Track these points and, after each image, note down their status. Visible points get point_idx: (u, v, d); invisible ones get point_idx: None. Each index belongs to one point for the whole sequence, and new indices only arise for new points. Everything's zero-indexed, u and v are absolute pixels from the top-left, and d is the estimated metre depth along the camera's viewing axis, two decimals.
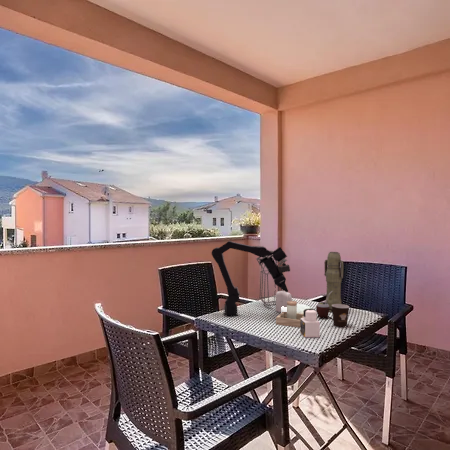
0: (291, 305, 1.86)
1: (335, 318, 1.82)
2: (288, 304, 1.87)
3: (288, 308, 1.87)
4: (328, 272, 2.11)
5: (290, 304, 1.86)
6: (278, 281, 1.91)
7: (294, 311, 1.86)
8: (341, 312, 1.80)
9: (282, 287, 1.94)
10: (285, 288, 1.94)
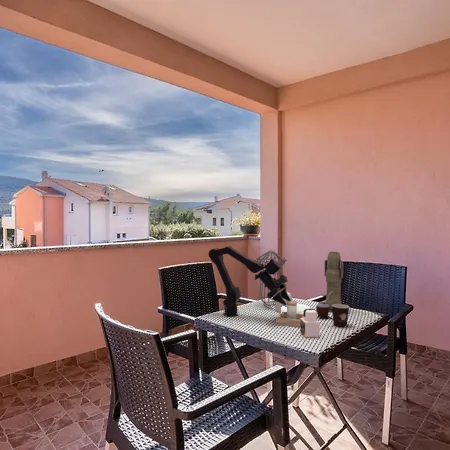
0: (291, 305, 1.86)
1: (335, 318, 1.82)
2: (288, 304, 1.87)
3: (288, 308, 1.87)
4: (328, 272, 2.11)
5: (290, 304, 1.86)
6: (271, 295, 1.83)
7: (294, 311, 1.86)
8: (341, 312, 1.80)
9: (279, 301, 1.85)
10: (282, 301, 1.85)
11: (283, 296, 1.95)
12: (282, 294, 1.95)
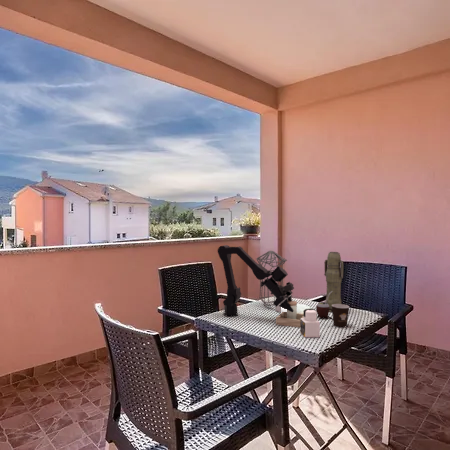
0: (291, 305, 1.86)
1: (335, 318, 1.82)
2: None
3: None
4: (328, 272, 2.11)
5: (290, 304, 1.86)
6: (277, 303, 1.82)
7: (294, 311, 1.86)
8: (341, 312, 1.80)
9: (286, 307, 1.85)
10: (289, 308, 1.85)
11: None
12: None
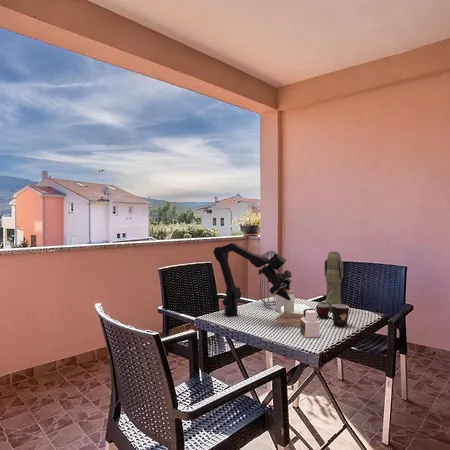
0: (288, 293, 1.82)
1: (335, 318, 1.82)
2: None
3: None
4: (328, 272, 2.11)
5: (287, 292, 1.82)
6: (273, 290, 1.79)
7: (291, 299, 1.82)
8: (341, 312, 1.80)
9: (282, 295, 1.82)
10: (286, 296, 1.82)
11: None
12: None
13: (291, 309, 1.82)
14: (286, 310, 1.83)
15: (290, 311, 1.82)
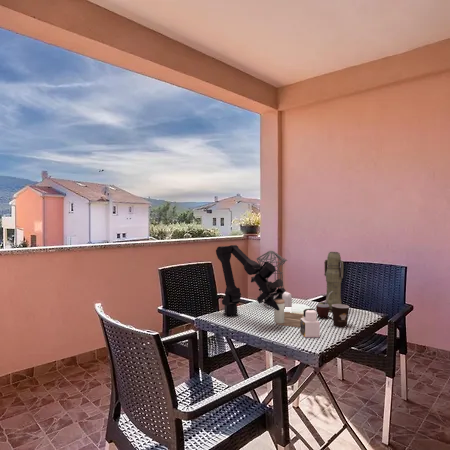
0: (277, 303, 1.76)
1: (335, 318, 1.82)
2: None
3: None
4: (328, 272, 2.11)
5: (276, 302, 1.76)
6: (260, 299, 1.74)
7: (280, 310, 1.75)
8: (341, 312, 1.80)
9: (271, 305, 1.76)
10: (275, 306, 1.75)
11: None
12: None
13: (280, 320, 1.76)
14: (275, 320, 1.76)
15: (279, 322, 1.76)
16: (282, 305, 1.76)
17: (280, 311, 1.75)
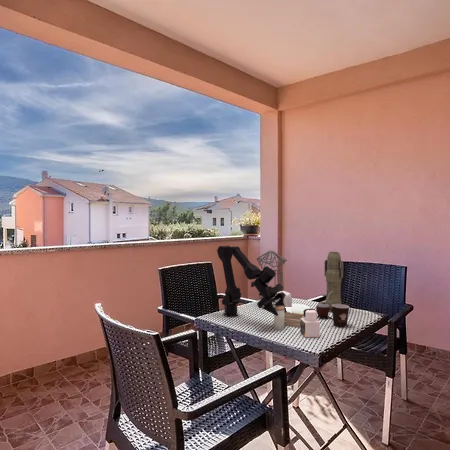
0: (277, 310, 1.76)
1: (335, 318, 1.82)
2: None
3: None
4: (328, 272, 2.11)
5: (276, 309, 1.76)
6: (260, 304, 1.74)
7: (280, 316, 1.76)
8: (341, 312, 1.80)
9: (270, 310, 1.75)
10: (273, 311, 1.74)
11: None
12: (278, 304, 1.83)
13: (280, 326, 1.76)
14: (275, 327, 1.76)
15: (279, 328, 1.76)
16: (282, 312, 1.76)
17: (280, 318, 1.75)
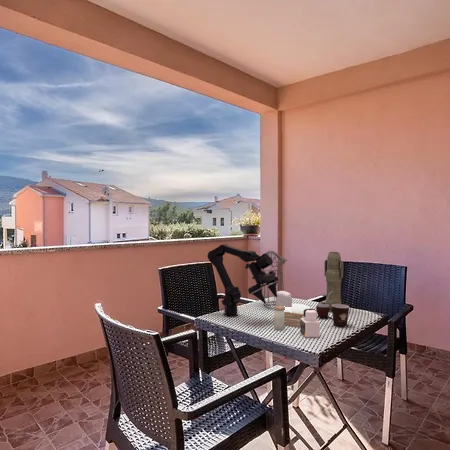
0: (277, 310, 1.76)
1: (335, 318, 1.82)
2: (274, 309, 1.77)
3: (274, 313, 1.77)
4: (328, 272, 2.11)
5: (276, 309, 1.76)
6: (250, 291, 1.83)
7: (280, 316, 1.76)
8: (341, 312, 1.80)
9: (259, 297, 1.85)
10: (261, 299, 1.84)
11: (272, 290, 1.92)
12: (271, 288, 1.92)
13: (280, 326, 1.76)
14: (275, 327, 1.76)
15: (279, 328, 1.76)
16: (282, 312, 1.76)
17: (280, 318, 1.75)
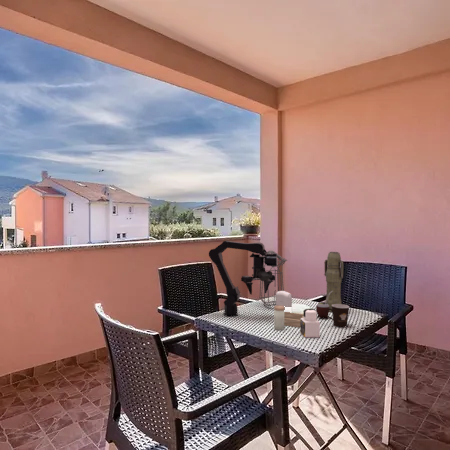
0: (277, 310, 1.76)
1: (335, 318, 1.82)
2: (274, 309, 1.77)
3: (274, 313, 1.77)
4: (328, 272, 2.11)
5: (276, 309, 1.76)
6: (242, 279, 1.95)
7: (280, 316, 1.76)
8: (341, 312, 1.80)
9: (248, 287, 1.96)
10: (249, 290, 1.96)
11: (265, 285, 2.01)
12: (265, 283, 2.01)
13: (280, 326, 1.76)
14: (275, 327, 1.76)
15: (279, 328, 1.76)
16: (282, 312, 1.76)
17: (280, 318, 1.75)
